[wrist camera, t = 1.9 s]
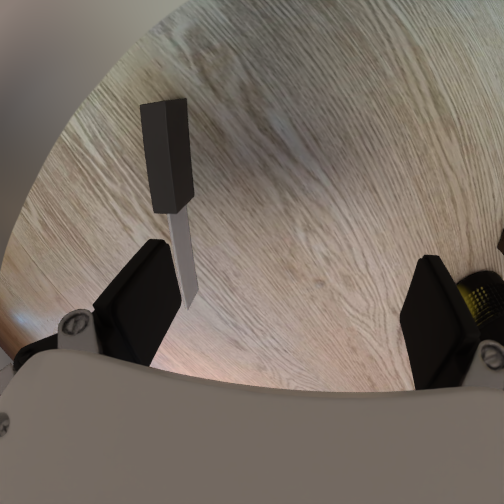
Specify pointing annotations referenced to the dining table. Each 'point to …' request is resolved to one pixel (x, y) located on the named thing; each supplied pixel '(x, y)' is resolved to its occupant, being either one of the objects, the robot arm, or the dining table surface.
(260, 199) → the dining table surface
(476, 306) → the container
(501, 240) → the cutting board
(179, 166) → the knife
